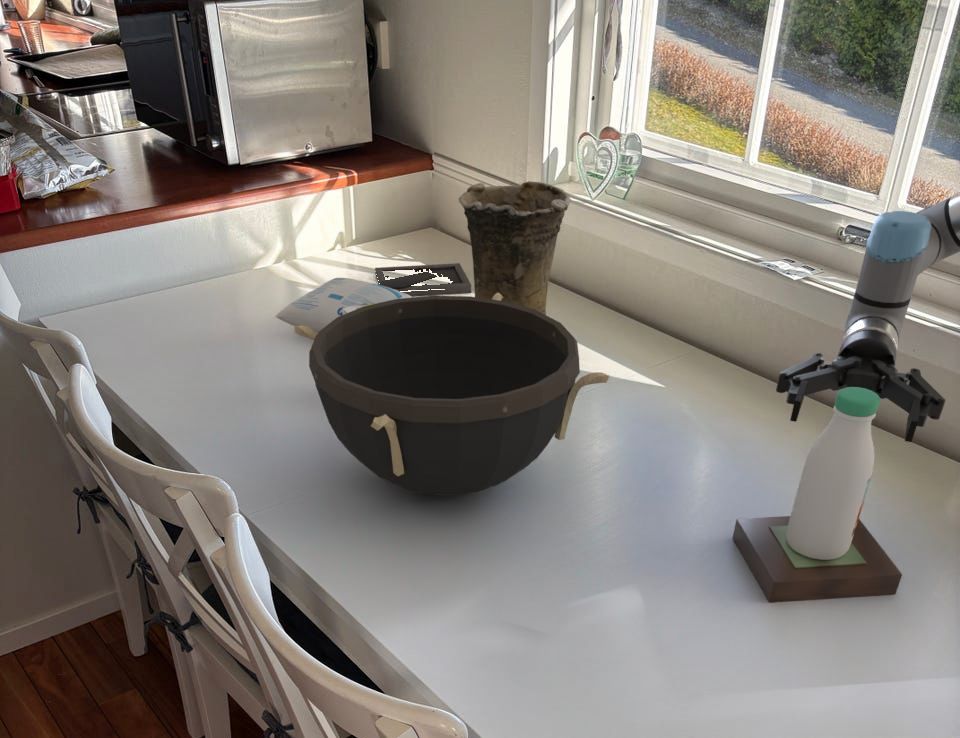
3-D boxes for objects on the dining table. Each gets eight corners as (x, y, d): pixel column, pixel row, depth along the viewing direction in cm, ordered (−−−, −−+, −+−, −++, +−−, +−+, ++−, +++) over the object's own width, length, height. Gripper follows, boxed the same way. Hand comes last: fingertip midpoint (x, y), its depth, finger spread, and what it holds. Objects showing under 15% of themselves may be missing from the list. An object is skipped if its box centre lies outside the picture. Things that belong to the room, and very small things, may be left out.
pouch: (363, 315, 163) (418, 275, 176) (271, 300, 169) (330, 262, 183) (368, 359, 168) (421, 317, 181) (278, 342, 174) (336, 303, 188)
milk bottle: (839, 568, 115) (887, 416, 102) (776, 549, 118) (815, 399, 105) (855, 538, 120) (902, 389, 107) (794, 520, 123) (833, 374, 110)
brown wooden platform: (848, 531, 127) (854, 510, 125) (895, 594, 116) (903, 573, 114) (732, 538, 125) (736, 517, 123) (769, 602, 115) (774, 581, 113)
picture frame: (382, 298, 190) (471, 292, 193) (382, 288, 189) (471, 282, 192) (375, 275, 200) (459, 270, 203) (374, 265, 199) (459, 261, 202)
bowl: (373, 573, 118) (362, 426, 105) (290, 447, 143) (274, 316, 130) (617, 511, 130) (634, 372, 117) (502, 404, 155) (506, 280, 142)
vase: (471, 375, 163) (472, 209, 146) (451, 334, 177) (449, 178, 160) (572, 366, 166) (584, 203, 149) (544, 327, 180) (553, 173, 163)
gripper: (954, 396, 130) (951, 468, 115) (769, 366, 137) (743, 430, 122) (973, 343, 125) (972, 411, 110) (780, 315, 132) (755, 374, 117)
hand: (852, 421), depth 116 cm, fingers open, 13 cm apart
